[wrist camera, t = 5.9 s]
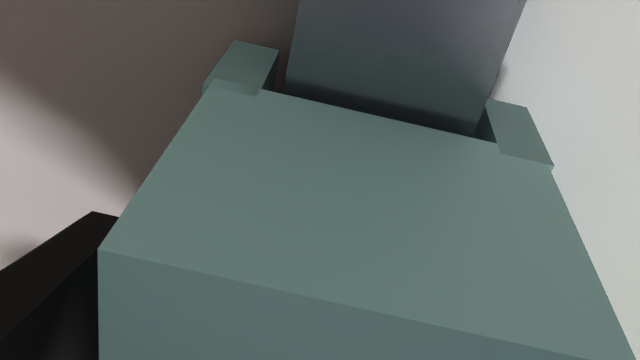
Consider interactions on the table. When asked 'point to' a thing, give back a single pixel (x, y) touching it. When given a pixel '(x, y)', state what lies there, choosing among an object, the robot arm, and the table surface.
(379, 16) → the rail
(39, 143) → the table surface
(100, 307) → the block
